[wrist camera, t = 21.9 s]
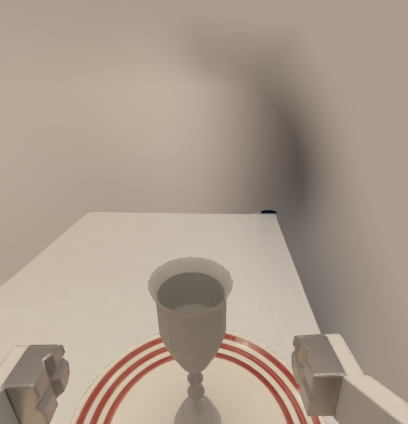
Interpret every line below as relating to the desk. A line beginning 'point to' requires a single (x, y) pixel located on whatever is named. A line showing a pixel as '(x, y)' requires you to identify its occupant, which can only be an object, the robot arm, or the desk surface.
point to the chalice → (192, 325)
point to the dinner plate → (178, 384)
